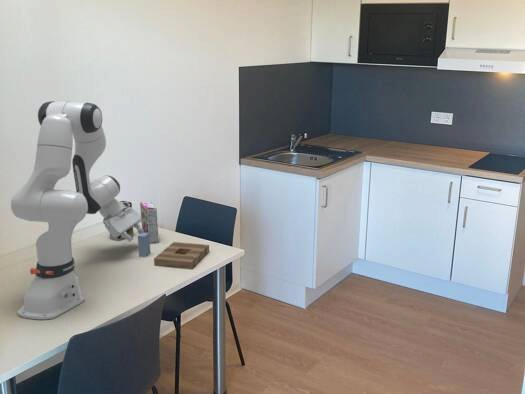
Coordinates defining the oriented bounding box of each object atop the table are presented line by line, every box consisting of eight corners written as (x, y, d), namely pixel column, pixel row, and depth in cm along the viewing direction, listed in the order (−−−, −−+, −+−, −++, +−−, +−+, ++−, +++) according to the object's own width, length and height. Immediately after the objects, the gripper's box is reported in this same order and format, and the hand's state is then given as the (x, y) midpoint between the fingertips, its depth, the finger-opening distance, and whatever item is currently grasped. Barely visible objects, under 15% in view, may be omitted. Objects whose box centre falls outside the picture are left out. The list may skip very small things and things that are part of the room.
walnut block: (192, 269, 219) (191, 262, 218) (154, 265, 223) (154, 258, 222) (209, 251, 238) (209, 244, 237) (174, 248, 242) (173, 241, 241)
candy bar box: (141, 236, 257) (139, 202, 252) (152, 235, 259) (150, 201, 254) (147, 244, 247) (145, 208, 243) (158, 242, 249) (157, 207, 245)
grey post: (145, 257, 232) (144, 236, 230) (139, 256, 233) (137, 235, 231) (150, 253, 236) (149, 233, 234) (143, 252, 237) (142, 232, 235)
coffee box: (118, 241, 251) (116, 206, 247) (109, 238, 255) (106, 204, 250) (134, 236, 258) (132, 202, 254) (125, 233, 262) (122, 200, 257)
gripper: (105, 214, 222) (129, 240, 223) (129, 201, 241) (151, 224, 242) (96, 224, 225) (120, 249, 225) (121, 210, 244) (143, 233, 244)
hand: (136, 236), depth 233 cm, fingers open, 8 cm apart
